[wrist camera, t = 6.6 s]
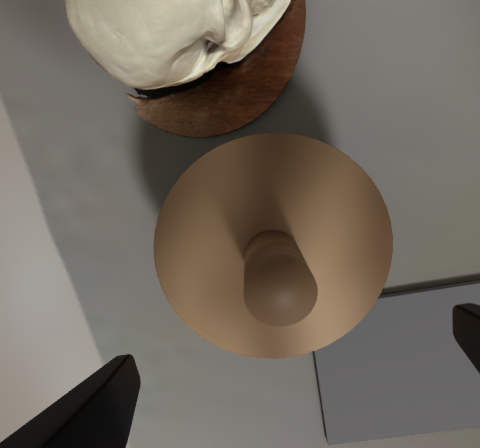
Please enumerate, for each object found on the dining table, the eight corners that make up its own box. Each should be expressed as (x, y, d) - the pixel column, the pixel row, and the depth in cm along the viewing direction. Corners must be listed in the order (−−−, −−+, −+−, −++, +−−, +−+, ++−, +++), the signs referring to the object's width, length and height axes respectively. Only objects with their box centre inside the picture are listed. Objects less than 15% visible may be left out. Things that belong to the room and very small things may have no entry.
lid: (377, 111, 14) (440, 94, 10) (392, 332, 17) (446, 402, 12) (132, 158, 15) (80, 163, 10) (186, 362, 18) (164, 438, 13)
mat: (484, 279, 20) (489, 281, 20) (483, 421, 23) (487, 425, 23) (307, 306, 21) (308, 309, 21) (326, 440, 24) (328, 445, 24)
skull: (267, -192, 14) (362, -181, 8) (285, 39, 22) (337, 125, 17) (28, -103, 15) (-40, -36, 9) (133, 88, 23) (134, 186, 17)
